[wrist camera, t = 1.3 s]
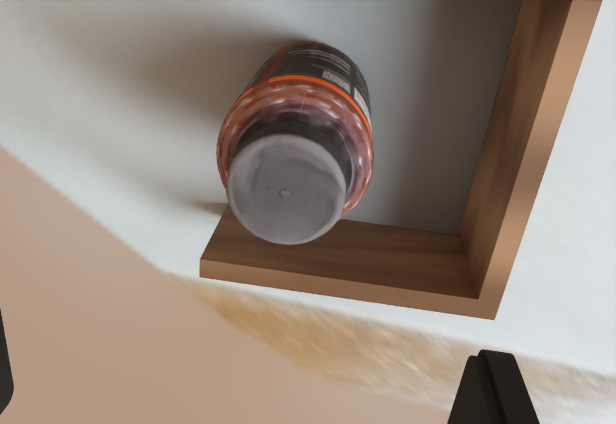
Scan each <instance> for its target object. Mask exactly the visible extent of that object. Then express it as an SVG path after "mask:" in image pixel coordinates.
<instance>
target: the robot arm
mask: <svg viewBox="0 0 616 424" xmlns="http://www.w3.org/2000/svg"><path fill="white" fill-rule="evenodd" d="M13 389H14V385H13V379H12V373H11V368H10V362H9V357H8V351H7V344H6V339H5V334H4V327H3V322H2V316H1V310H0V414H1V413H2V412H3V410H4V409H5V408H6V407H7V405H8V404H9V402H10V400H11V398H12V395H13ZM448 424H540V423H539V421H538V418H537V415H536V413H535V410H534V407H533V405H532V402H531V399H530V397H529V394H528V391H527V389H526V386H525V383H524V381H523V378H522V375H521V373H520V370H519V367H518V365H517V362H516V359H515V357H514V355H512V354H511V353H504V352H498V351H491V350H484V349H483V350H481V351H480V352H479V353H478V356H472V355H471V356H469V358H468V360H467V363H466V366H465V369H464V372H463V376H462V379H461V382H460V385H459V388H458V391H457V394H456V398H455V401H454V404H453V407H452V410H451V413H450V416H449V420H448Z"/></svg>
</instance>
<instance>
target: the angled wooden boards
mask: <svg viewBox="0 0 616 424" xmlns="http://www.w3.org/2000/svg"><path fill="white" fill-rule="evenodd" d="M601 3H602V0H523V1H522V5H521V9H520V12H519V16H518V20H517V23H516V27H515V31H514V34H513V38H512V41H511V45H510V49H509V52H508V56H507V60H506V63H505V67H504V71H503V74H502V78H501V81H500V85H499V89H498V92H497V96H496V100H495V103H494V107H493V110H492V114H491V118H490V121H489V125H488V129H487V132H486V136H485V140H484V143H483V147H482V150H481V154H480V158H479V161H478V165H477V169H476V172H475V176H474V180H473V183H472V187H471V190H470V194H469V198H468V201H467V205H466V209H465V212H464V216H463V220H462V223H461V227H460V230H459V234H458V236H454V235H447V234H440V233H433V232H426V231H419V230H412V229H405V228H398V227H391V226H384V225H377V224H370V223H363V222H355V221H348V220H341V219H340V220H338V221H337V222H336V223H335V224H334V225H333V227H332V228H331V229H330V230H328V231H327V232H326V233H325V234H323V235H321V236H320V237H318V238H316V239H314V240H311V241H309V242H306V243H302V244H292V245H285V244H277V243H273V242H269V241H266V240H264V239H262V238H260V237H258V236H255V235H254V234H253V233H251V232H250V231H249V230H247V229H246V228H245V227H244V226H243V225H242V224H241V223H240V222H239V221H238V219H237V218H236V217H235V215H234V213H233V211H232V210H231V207H230V205H229V204H228V205H227V207H226V209H225V211H224V213H223V215H222V217H221V219H220V221H219V223H218V225H217V227H216V229H215V231H214V233H213V235H212V237H211V239H210V241H209V243H208V244H207V246H206V248H205V250H204V252H203V254H202V256H201V258H200V277H202V278H209V279H216V280H223V281H230V282H237V283H243V284H250V285H257V286H264V287H271V288H278V289H285V290H291V291H298V292H305V293H312V294H319V295H326V296H333V297H339V298H346V299H353V300H360V301H367V302H374V303H381V304H387V305H394V306H401V307H408V308H415V309H422V310H429V311H435V312H442V313H449V314H456V315H463V316H470V317H476V318H483V319H490V320H495V317H496V314H497V311H498V308H499V305H500V302H501V299H502V296H503V293H504V290H505V287H506V284H507V281H508V278H509V275H510V272H511V269H512V266H513V263H514V260H515V257H516V255H517V252H518V249H519V246H520V243H521V240H522V237H523V234H524V231H525V228H526V225H527V222H528V219H529V216H530V213H531V210H532V207H533V204H534V201H535V198H536V195H537V192H538V190H539V187H540V184H541V181H542V178H543V175H544V172H545V169H546V166H547V163H548V160H549V157H550V154H551V151H552V148H553V145H554V142H555V139H556V136H557V133H558V130H559V127H560V125H561V122H562V119H563V116H564V113H565V110H566V107H567V104H568V101H569V98H570V95H571V92H572V89H573V86H574V83H575V80H576V77H577V74H578V71H579V68H580V65H581V62H582V60H583V57H584V54H585V51H586V48H587V45H588V42H589V39H590V36H591V33H592V30H593V27H594V24H595V21H596V18H597V15H598V12H599V9H600V6H601Z"/></svg>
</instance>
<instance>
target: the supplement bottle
mask: <svg viewBox="0 0 616 424" xmlns="http://www.w3.org/2000/svg"><path fill="white" fill-rule="evenodd" d="M216 154H217V165H218V170H219V174H220V177H221V180H222V183H223V185H224V187H225V189H226V193H227V198H228V202H229V205H230V207H231V210H232V211H233V213H234V215H235V217H236V218H237V219H238V221H239V222H240V223H241V224H242V225H243V226H244V227H245V228H246V229H247V230H249V231H250V232H251V233H253V234H254V235H255V236H258V237H260V238H262V239H264V240H266V241H269V242H273V243H277V244H285V245H292V244H302V243H306V242H309V241H311V240H314V239H316V238H318V237H320V236H321V235H323V234H325V233H326V232H327V231H328V230H330V229H331V228H332V227H333V225H334V224H335V223H336V222H337V221H338V220H340V219H341V218H342V217H343V216H345V215H346V214H347V213H348V212H350V211H351V210H352V209H353V208H354V207H355V205H356V204H357V203H358V202H359V201H360V199H361V197H362V196H363V194H364V192H365V191H366V188H367V186H368V184H369V181H370V177H371V174H372V169H373V158H374V156H373V139H372V127H371V113H370V100H369V93H368V88H367V85H366V82H365V80H364V77H363V76H362V73H361V72H360V70H359V68H358V67H357V65H356V64H355V63H354V62H353V61H352V60H351V59H350V58H349V57H347V56H346V55H345V54H344V53H342V52H340V51H339V50H337V49H335V48H333V47H330V46H327V45H324V44H318V43H301V44H296V45H292V46H289V47H287V48H284V49H282V50H281V51H279V52H277V53H275V54H274V55H273V56H272V57H270V58H269V59H268V60H267V61H266V62H265V63H264V65H263V66H262V67H261V68H260V69H259V71H258V72H257V74H256V75H255V76H254V78H253V79H252V81H251V82H250V83H249V85H248V86H247V87H246V89H245V90H244V92H243V93H242V94H241V96H240V97H239V98H238V99H237V101H236V102H235V103H234V105H233V107H232V108H231V110H230V111H229V113H228V115H227V116H226V118H225V120H224V122H223V125H222V127H221V130H220V133H219V137H218V142H217V152H216Z"/></svg>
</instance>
